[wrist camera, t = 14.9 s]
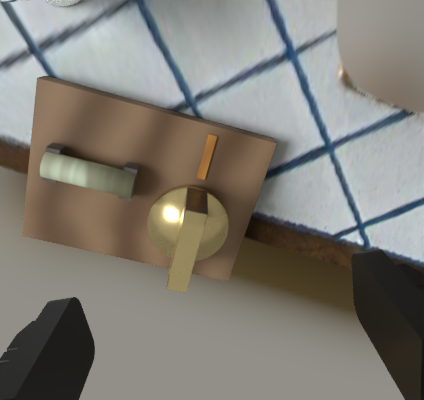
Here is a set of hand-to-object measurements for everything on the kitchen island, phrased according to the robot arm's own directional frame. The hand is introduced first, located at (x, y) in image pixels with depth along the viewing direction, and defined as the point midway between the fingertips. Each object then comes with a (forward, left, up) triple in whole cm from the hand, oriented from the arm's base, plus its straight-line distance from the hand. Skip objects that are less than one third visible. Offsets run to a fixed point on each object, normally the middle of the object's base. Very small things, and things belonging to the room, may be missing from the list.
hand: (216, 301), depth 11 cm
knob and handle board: (+4, +8, -28) cm, 29 cm away
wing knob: (-1, +10, -26) cm, 28 cm away
